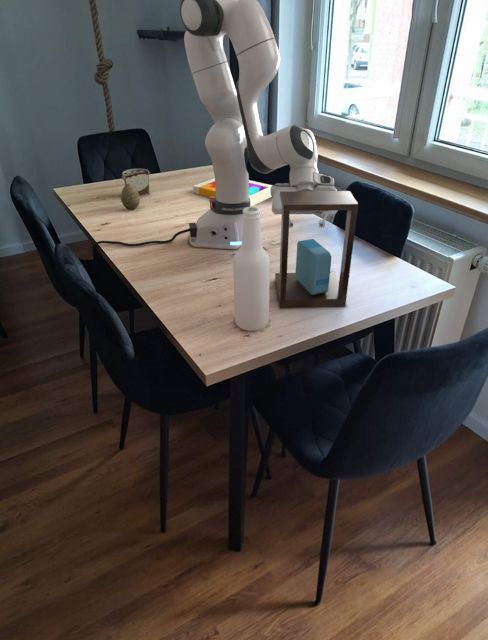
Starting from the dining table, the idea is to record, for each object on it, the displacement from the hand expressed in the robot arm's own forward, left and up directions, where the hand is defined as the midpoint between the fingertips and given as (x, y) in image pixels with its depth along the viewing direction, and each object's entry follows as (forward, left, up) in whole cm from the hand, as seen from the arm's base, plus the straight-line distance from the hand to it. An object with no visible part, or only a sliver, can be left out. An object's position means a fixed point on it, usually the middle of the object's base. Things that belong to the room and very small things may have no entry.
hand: (306, 226), depth 144 cm
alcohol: (-18, -31, -13) cm, 39 cm away
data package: (0, -17, -11) cm, 20 cm away
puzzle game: (-23, +70, -13) cm, 74 cm away
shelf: (-1, -16, -13) cm, 21 cm away
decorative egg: (-62, +55, -13) cm, 83 cm away
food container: (-63, +73, -13) cm, 97 cm away
